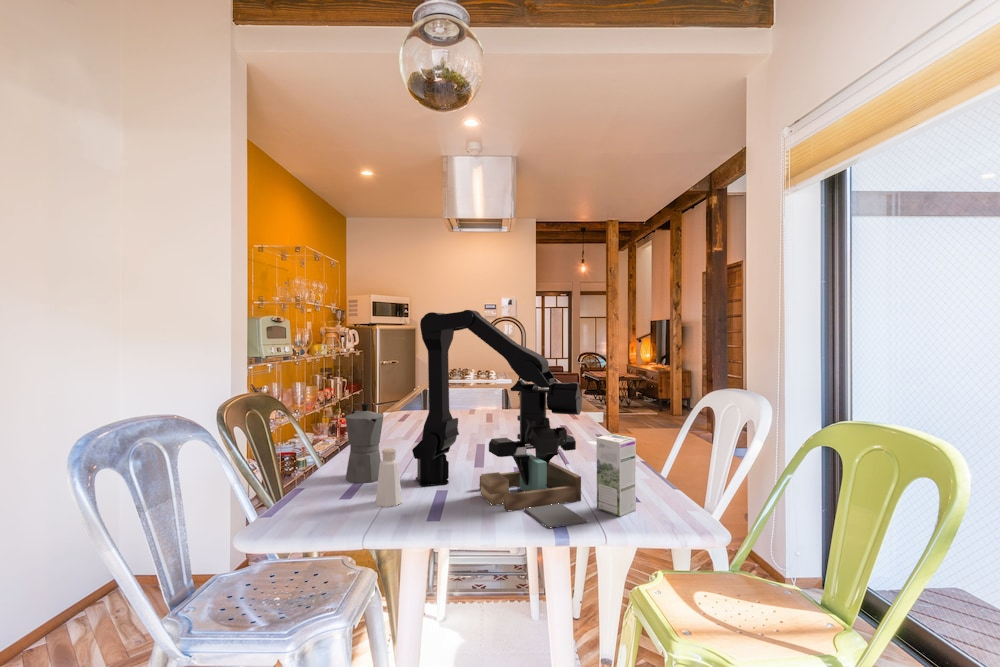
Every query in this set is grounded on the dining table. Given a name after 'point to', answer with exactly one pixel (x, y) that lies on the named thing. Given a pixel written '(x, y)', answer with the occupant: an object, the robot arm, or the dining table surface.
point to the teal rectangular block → (535, 475)
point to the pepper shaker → (388, 480)
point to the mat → (555, 515)
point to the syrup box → (616, 474)
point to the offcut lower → (493, 497)
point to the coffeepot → (364, 445)
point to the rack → (557, 477)
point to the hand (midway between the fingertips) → (532, 483)
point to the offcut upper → (494, 483)
